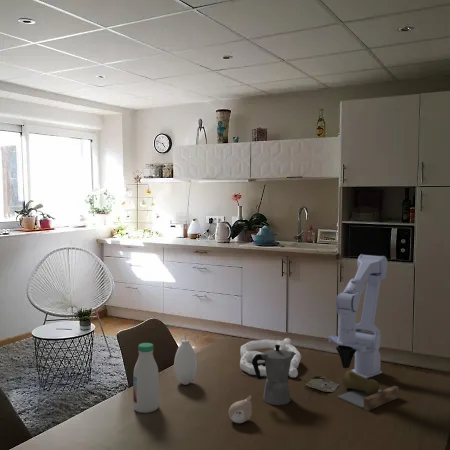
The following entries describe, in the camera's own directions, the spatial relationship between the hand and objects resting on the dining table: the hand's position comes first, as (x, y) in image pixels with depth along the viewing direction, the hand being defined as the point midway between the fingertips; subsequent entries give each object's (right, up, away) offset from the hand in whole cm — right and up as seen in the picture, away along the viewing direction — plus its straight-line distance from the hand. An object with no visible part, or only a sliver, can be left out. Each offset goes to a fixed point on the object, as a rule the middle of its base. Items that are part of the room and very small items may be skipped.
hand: (346, 367), depth 163 cm
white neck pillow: (-24, -6, +23) cm, 33 cm away
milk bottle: (-66, -8, -15) cm, 68 cm away
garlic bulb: (-37, -9, -24) cm, 45 cm away
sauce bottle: (-55, -7, +4) cm, 56 cm away
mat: (+5, -8, -6) cm, 11 cm away
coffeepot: (-26, -8, -9) cm, 28 cm away
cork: (+1, -4, +1) cm, 5 cm away
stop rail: (+9, -8, -11) cm, 16 cm away
